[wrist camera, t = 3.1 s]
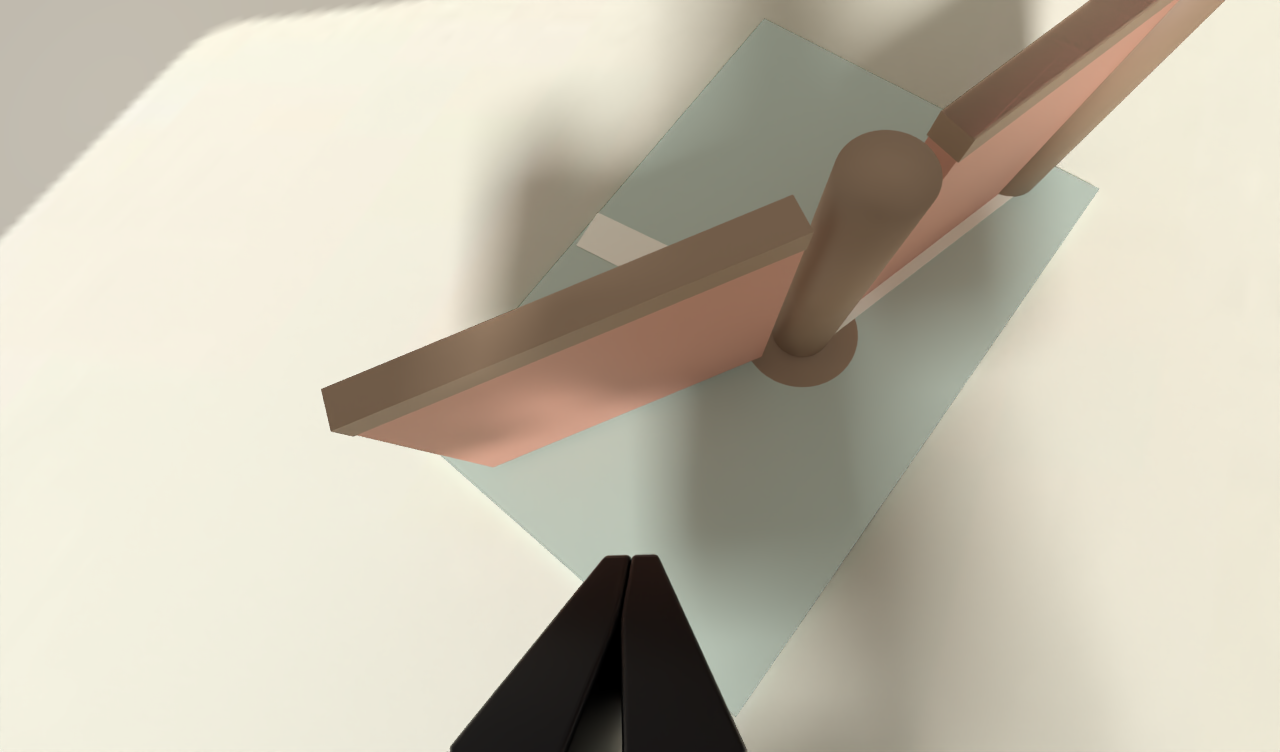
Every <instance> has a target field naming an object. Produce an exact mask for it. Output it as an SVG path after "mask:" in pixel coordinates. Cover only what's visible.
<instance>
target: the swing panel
mask: <svg viewBox="0 0 1280 752" xmlns="http://www.w3.org/2000/svg"><path fill="white" fill-rule="evenodd" d="M942 180H943V175H942V168H941V165H940V162H939V160H938V158H937V156H936V155H935V153H934V152H933V151H932V149H931V148H930V147H929V146H928V145H927V144H925V143H924V142H923V141H921V140H920V139H918V138H916V137H914V136H912V135H910V134H907V133H904V132H900V131H895V130H877V131H871V132H868V133H865V134H862V135H860V136H858V137H856V138H854V139H853V140H851V141H850V142H849V143H847V144H846V145H845V146H844V147H843V149H842V150H841V151H840V153H839V154H838V156H837V158H836V160H835V163H834V166H833V168H832V171H831V173H830V176H829V178H828V181H827V184H826V186H825V189H824V191H823V194H822V196H821V199H820V202H819V204H818V207H817V209H816V212H815V215H814V217H813V220H812V222H811V225H810V224H809V222H808V220H807V218H806V217H805V215H804V213H803V211H802V209H801V208H800V206H799V204H798V202H797V200H796V199H795V197H794V195H790V196H788V197H785V198H783V199H781V200H778V201H776V202H773V203H771V204H768V205H766V206H764V207H761V208H759V209H756V210H754V211H751V212H749V213H747V214H744V215H742V216H739V217H737V218H734V219H732V220H730V221H727V222H725V223H722V224H720V225H718V226H715V227H713V228H710V229H708V230H705V231H703V232H701V233H698V234H696V235H693V236H691V237H688V238H686V239H684V240H681V241H679V242H676V243H674V244H672V245H669V246H667V247H664V248H662V249H659V250H657V251H655V252H652V253H650V254H647V255H645V256H642V257H640V258H638V259H635V260H633V261H630V262H628V263H625V264H623V265H621V266H618V267H616V268H613V269H611V270H609V271H606V272H604V273H601V274H599V275H596V276H594V277H592V278H589V279H587V280H584V281H582V282H579V283H577V284H575V285H572V286H570V287H567V288H565V289H563V290H560V291H558V292H555V293H553V294H550V295H548V296H546V297H543V298H541V299H538V300H536V301H533V302H531V303H529V304H526V305H524V306H521V307H519V308H516V309H514V310H512V311H509V312H507V313H504V314H502V315H500V316H497V317H495V318H492V319H490V320H487V321H485V322H483V323H480V324H478V325H475V326H473V327H470V328H468V329H466V330H463V331H461V332H458V333H456V334H454V335H451V336H449V337H446V338H444V339H441V340H439V341H437V342H434V343H432V344H429V345H427V346H424V347H422V348H420V349H417V350H415V351H412V352H410V353H407V354H405V355H403V356H400V357H398V358H395V359H393V360H391V361H388V362H386V363H383V364H381V365H378V366H376V367H374V368H371V369H369V370H366V371H364V372H361V373H359V374H357V375H354V376H352V377H349V378H347V379H345V380H342V381H340V382H337V383H335V384H332V385H330V386H328V387H325V388H323V389H321V391H322V395H323V400H324V404H325V408H326V413H327V417H328V421H329V426H330V430H331V432H336V433H340V434H345V435H349V436H356V435H358V436H362V437H366V438H371V439H375V440H379V441H383V442H388V443H392V444H396V445H400V446H405V447H409V448H413V449H417V450H421V451H426V452H430V453H434V454H438V455H443V456H447V457H451V458H455V459H460V460H464V461H468V462H472V463H477V464H481V465H485V466H489V467H496V466H498V465H500V464H503V463H505V462H508V461H510V460H513V459H515V458H517V457H520V456H522V455H525V454H527V453H529V452H532V451H534V450H537V449H539V448H542V447H544V446H546V445H549V444H551V443H554V442H556V441H559V440H561V439H563V438H566V437H568V436H571V435H573V434H576V433H578V432H580V431H583V430H585V429H588V428H590V427H592V426H595V425H597V424H600V423H602V422H605V421H607V420H609V419H612V418H614V417H617V416H619V415H622V414H624V413H626V412H629V411H631V410H634V409H636V408H638V407H641V406H643V405H646V404H648V403H651V402H653V401H655V400H658V399H660V398H663V397H665V396H668V395H670V394H672V393H675V392H677V391H680V390H682V389H685V388H687V387H689V386H692V385H694V384H697V383H699V382H701V381H704V380H706V379H709V378H711V377H714V376H716V375H718V374H721V373H723V372H726V371H728V370H731V369H733V368H735V367H738V366H740V365H743V364H745V363H747V362H750V361H752V360H755V359H757V358H760V357H762V355H763V352H764V350H765V347H766V345H767V342H768V340H769V337H770V335H771V332H772V335H773V338H774V340H775V342H776V344H777V345H778V346H779V347H780V348H781V349H782V350H783V351H784V352H786V353H788V354H790V355H793V356H797V357H808V356H812V355H815V354H817V353H818V352H820V351H821V350H822V349H823V348H824V347H825V346H826V345H827V343H828V342H829V341H830V339H831V338H832V337H833V335H834V334H835V333H836V331H837V330H838V329H839V327H840V326H841V325H842V323H843V322H844V321H845V319H846V318H847V317H848V316H849V314H850V313H851V312H852V310H853V309H854V308H855V306H856V305H857V304H858V302H859V301H860V300H861V298H862V297H863V296H864V294H865V293H866V292H867V290H868V289H869V288H870V286H871V285H872V284H873V282H874V281H875V280H876V278H877V277H878V276H879V274H880V273H881V272H882V270H883V269H884V268H885V266H886V265H887V264H888V262H889V261H890V260H891V258H892V257H893V256H894V254H895V253H896V252H897V251H898V249H899V248H900V247H901V245H902V244H903V243H904V241H905V240H906V239H907V237H908V236H909V235H910V233H911V232H912V231H913V229H914V228H915V227H916V225H917V224H918V223H919V221H920V220H921V219H922V217H923V216H924V215H925V213H926V212H927V211H928V209H929V208H930V207H931V205H932V204H933V203H934V201H935V200H936V198H937V197H938V195H939V193H940V190H941V187H942Z"/></svg>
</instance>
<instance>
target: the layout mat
mask: <svg viewBox="0 0 1280 752" xmlns="http://www.w3.org/2000/svg"><path fill="white" fill-rule="evenodd" d="M942 110H943V109H941V108H939V107H938V106H936V105H934V104H932V103H930V102H928V101H926V100H924V99H922V98H920V97H918V96H916V95H914V94H912V93H910V92H908V91H906V90H904V89H902V88H900V87H898V86H896V85H894V84H892V83H890V82H888V81H886V80H884V79H883V78H881V77H879V76H877V75H875V74H873V73H871V72H869V71H867V70H865V69H863V68H861V67H859V66H857V65H855V64H853V63H851V62H849V61H847V60H845V59H843V58H841V57H839V56H837V55H835V54H833V53H831V52H829V51H827V50H826V49H824V48H822V47H820V46H818V45H816V44H814V43H812V42H810V41H808V40H806V39H804V38H802V37H800V36H798V35H796V34H794V33H792V32H790V31H788V30H786V29H784V28H782V27H780V26H778V25H776V24H774V23H772V22H771V21H769V20H767V19H765V18H764V19H763V21H762V22H761V23H760V24H759V25H758V27H757V28H756V29H755V30H754V31H753V32H752V34H751V35H750V36H749V37H748V38H747V39H746V41H745V42H744V43H743V44H742V45H741V46H740V48H739V49H738V50H737V51H736V52H735V53H734V55H733V56H732V57H731V58H730V59H729V60H728V62H727V63H726V64H725V65H724V66H723V68H722V69H721V70H720V71H719V72H718V73H717V75H716V76H715V77H714V78H713V79H712V80H711V82H710V83H709V84H708V85H707V86H706V87H705V89H704V90H703V91H702V92H701V93H700V94H699V96H698V97H697V98H696V99H695V100H694V101H693V103H692V104H691V105H690V106H689V107H688V109H687V110H686V111H685V112H684V113H683V114H682V116H681V117H680V118H679V119H678V120H677V121H676V123H675V124H674V125H673V126H672V127H671V128H670V130H669V131H668V132H667V133H666V134H665V135H664V137H663V138H662V139H661V140H660V141H659V142H658V144H657V145H656V146H655V147H654V148H653V149H652V151H651V152H650V153H649V154H648V155H647V157H646V158H645V159H644V160H643V161H642V162H641V164H640V165H639V166H638V167H637V168H636V169H635V171H634V172H633V173H632V174H631V175H630V176H629V178H628V179H627V180H626V181H625V182H624V183H623V185H622V186H621V187H620V188H619V189H618V190H617V192H616V193H615V194H614V195H613V196H612V198H611V199H610V200H609V201H608V202H607V203H606V205H605V206H604V207H603V208H602V209H601V210H600V212H599V213H598V212H597V214H596V215H595V217H594V219H593V220H592V221H591V222H590V223H589V224H588V226H587V227H586V228H585V229H584V230H583V231H582V233H581V234H580V235H579V236H578V237H577V239H576V240H575V241H574V242H573V243H572V244H571V246H570V247H569V248H568V249H567V250H566V251H565V253H564V254H563V255H562V256H561V257H560V258H559V260H558V261H557V262H556V263H555V264H554V265H553V267H552V268H551V269H550V270H549V271H548V272H547V274H546V275H545V276H544V277H543V278H542V280H541V281H540V282H539V283H538V284H537V285H536V287H535V288H534V289H533V290H532V291H531V292H530V294H529V295H528V296H527V297H526V298H525V299H524V301H523V302H522V303H521V304H520V305H519V306H518V308H519V307H521V306H524V305H526V304H529V303H531V302H533V301H536V300H538V299H541V298H543V297H546V296H548V295H550V294H553V293H555V292H558V291H560V290H563V289H565V288H567V287H570V286H572V285H575V284H577V283H579V282H582V281H584V280H587V279H589V278H592V277H594V276H596V275H599V274H601V273H604V272H606V271H609V270H611V269H613V268H616V267H618V266H621V265H623V264H625V263H628V262H630V261H633V260H635V259H638V258H640V257H642V256H645V255H647V254H650V253H652V252H655V251H657V250H659V249H662V248H664V247H667V246H669V245H672V244H674V243H676V242H679V241H681V240H684V239H686V238H688V237H691V236H693V235H696V234H698V233H701V232H703V231H705V230H708V229H710V228H713V227H715V226H718V225H720V224H722V223H725V222H727V221H730V220H732V219H734V218H737V217H739V216H742V215H744V214H747V213H749V212H751V211H754V210H756V209H759V208H761V207H764V206H766V205H768V204H771V203H773V202H776V201H778V200H781V199H783V198H785V197H788V196H790V195H794V197H795V199H796V200H797V202H798V204H799V206H800V208H801V209H802V211H803V213H804V215H805V217H806V218H807V220H808V222H809V224H810V225H811V222H812V220H813V217H814V215H815V212H816V209H817V207H818V204H819V202H820V199H821V196H822V194H823V191H824V189H825V186H826V184H827V181H828V178H829V176H830V173H831V171H832V168H833V166H834V163H835V160H836V158H837V156H838V154H839V153H840V151H841V150H842V149H843V147H844V146H845V145H846V144H847V143H849V142H850V141H851V140H853V139H854V138H856V137H858V136H860V135H862V134H865V133H868V132H871V131H877V130H895V131H900V132H904V133H907V134H910V135H912V136H914V137H916V138H918V139H920V140H921V141H923V142H924V143H925V141H926V139H927V138H928V136H927V133H928V132H929V130H930V128H931V127H932V125H933V123H934V122H935V120H936V118H937V117H938V115H939V113H940V112H941V111H942ZM1098 190H1099V188H1097V187H1095V186H1093V185H1091V184H1089V183H1087V182H1085V181H1083V180H1081V179H1079V178H1077V177H1075V176H1073V175H1071V174H1069V173H1067V172H1065V171H1063V170H1061V169H1059V168H1057V167H1054V168H1053V169H1052V170H1051V171H1050V172H1049V173H1048V174H1047V175H1046V176H1045V177H1044V178H1043V179H1042V180H1041V181H1040V182H1039V183H1038V184H1037V185H1036V186H1035V187H1034V188H1033V189H1031V190H1030V191H1029V192H1028V193H1026V194H1024V195H1021V196H1017V197H1013V196H1004V195H1000V194H998V195H997V196H995V197H994V198H993V199H991V200H990V201H989V202H987V203H986V204H985V205H984V206H982V207H981V208H980V209H978V210H977V211H976V212H974V213H973V214H972V215H971V216H969V217H968V218H967V219H965V220H964V221H963V222H961V223H960V224H959V225H957V226H956V227H955V228H954V229H952V230H951V231H950V232H948V233H947V234H946V235H944V236H943V237H942V238H940V239H939V240H938V241H937V242H935V243H934V244H933V245H931V246H930V247H929V248H927V249H926V250H925V251H924V252H922V253H921V254H920V255H918V256H917V257H916V258H914V259H913V260H912V261H910V262H909V263H908V264H907V265H905V266H904V267H903V268H901V269H900V270H899V271H897V272H896V273H895V274H893V275H892V276H891V277H890V278H888V279H887V280H886V281H884V282H883V283H882V284H880V285H879V286H878V287H877V288H875V289H874V290H873V291H871V292H870V293H869V294H867V295H866V296H865V297H863V298H862V299H861V300H860V301H859V302H858V304H857V305H856V306H855V308H854V309H853V310H852V312H851V313H850V314H849V316H848V317H847V318H846V319H845V321H844V322H843V323H842V325H841V326H840V327H839V329H838V330H837V331H836V332H838V331H839V330H840V329H842V328H843V327H844V326H846V325H847V324H848V323H849V322H851V321H852V320H853V319H855V321H856V324H857V330H858V342H857V346H856V351H855V354H854V356H853V358H852V360H851V362H850V363H849V365H848V366H847V367H846V368H845V370H844V371H843V372H841V373H840V374H839V375H838V376H836V377H835V378H834V379H832V380H830V381H828V382H826V383H823V384H820V385H817V386H812V387H809V386H808V387H793V386H788V385H784V384H781V383H778V382H776V381H774V380H772V379H770V378H769V377H767V376H766V375H764V374H763V373H762V372H761V371H760V370H759V369H760V368H759V369H758V367H756V366H755V365H754V364H755V363H754V364H753V362H752V361H750V362H747V363H745V364H743V365H740V366H738V367H735V368H733V369H731V370H728V371H726V372H723V373H721V374H718V375H716V376H714V377H711V378H709V379H706V380H704V381H701V382H699V383H697V384H694V385H692V386H689V387H687V388H685V389H682V390H680V391H677V392H675V393H672V394H670V395H668V396H665V397H663V398H660V399H658V400H655V401H653V402H651V403H648V404H646V405H643V406H641V407H638V408H636V409H634V410H631V411H629V412H626V413H624V414H622V415H619V416H617V417H614V418H612V419H609V420H607V421H605V422H602V423H600V424H597V425H595V426H592V427H590V428H588V429H585V430H583V431H580V432H578V433H576V434H573V435H571V436H568V437H566V438H563V439H561V440H559V441H556V442H554V443H551V444H549V445H546V446H544V447H542V448H539V449H537V450H534V451H532V452H529V453H527V454H525V455H522V456H520V457H517V458H515V459H513V460H510V461H508V462H505V463H503V464H500V465H498V466H496V467H489V466H485V465H481V464H477V463H472V462H468V461H464V460H460V459H455V458H451V457H447V456H443V455H441V456H442V457H443V458H444V459H445V460H446V461H447V462H449V463H450V464H451V465H452V466H453V467H454V468H455V469H457V470H458V471H459V472H460V473H461V474H462V475H463V476H464V477H466V478H467V479H468V480H469V481H470V482H471V483H472V484H473V485H475V486H476V487H477V488H478V489H479V490H480V491H481V492H482V493H484V494H485V495H486V496H487V497H488V498H489V499H490V500H492V501H493V502H494V503H495V504H496V505H497V506H498V507H499V508H501V509H502V510H503V511H504V512H505V513H506V514H507V515H508V516H510V517H511V518H512V519H513V520H514V521H515V522H516V523H518V524H519V525H520V526H521V527H522V528H523V529H524V530H525V531H527V532H528V533H529V534H530V535H531V536H532V537H533V538H534V539H536V540H537V541H538V542H539V543H540V544H541V545H542V546H543V547H545V548H546V549H547V550H548V551H549V552H550V553H551V554H553V555H554V556H555V557H556V558H557V559H558V560H559V561H560V562H562V563H563V564H564V565H565V566H566V567H567V568H568V569H569V570H571V571H572V572H573V573H574V574H575V575H576V576H577V577H578V578H580V579H581V580H582V581H583V582H584V581H585V580H586V579H587V577H588V576H589V575H590V574H591V572H592V571H593V570H594V569H595V567H596V566H597V565H598V564H599V563H600V561H601V560H602V559H603V558H604V557H605V556H608V555H629V556H630V557H631V559H632V557H633V556H634V555H638V554H655V555H658V557H659V558H660V560H661V562H662V565H663V567H664V569H665V571H666V573H667V575H668V578H669V580H670V582H671V584H672V586H673V589H674V591H675V593H676V595H677V597H678V600H679V602H680V604H681V606H682V608H683V611H684V613H685V615H686V617H687V619H688V622H689V624H690V626H691V628H692V630H693V632H694V635H695V637H696V639H697V641H698V643H699V646H700V648H701V650H702V652H703V654H704V657H705V659H706V661H707V663H708V665H709V668H710V670H711V672H712V674H713V676H714V679H715V681H716V683H717V685H718V687H719V689H720V692H721V694H722V696H723V698H724V700H725V703H726V705H727V707H728V709H729V711H730V712H731V713H732V714H733V715H734V716H735V717H736V716H737V715H738V713H739V712H740V710H741V709H742V707H743V706H744V704H745V703H746V702H747V700H748V699H749V697H750V696H751V694H752V693H753V691H754V690H755V688H756V687H757V686H758V684H759V683H760V681H761V680H762V678H763V677H764V675H765V674H766V672H767V671H768V670H769V668H770V667H771V665H772V664H773V662H774V661H775V659H776V658H777V656H778V655H779V654H780V652H781V651H782V649H783V648H784V646H785V645H786V643H787V642H788V640H789V639H790V638H791V636H792V635H793V633H794V632H795V630H796V629H797V627H798V626H799V625H800V623H801V622H802V620H803V619H804V617H805V616H806V614H807V613H808V611H809V610H810V609H811V607H812V606H813V604H814V603H815V601H816V600H817V598H818V597H819V595H820V594H821V593H822V591H823V590H824V588H825V587H826V585H827V584H828V582H829V581H830V579H831V578H832V577H833V575H834V574H835V572H836V571H837V569H838V568H839V566H840V565H841V563H842V562H843V561H844V559H845V558H846V556H847V555H848V553H849V552H850V550H851V549H852V548H853V546H854V545H855V543H856V542H857V540H858V539H859V537H860V536H861V534H862V533H863V532H864V530H865V529H866V527H867V526H868V524H869V523H870V521H871V520H872V518H873V517H874V516H875V514H876V513H877V511H878V510H879V508H880V507H881V505H882V504H883V502H884V501H885V500H886V498H887V497H888V495H889V494H890V492H891V491H892V489H893V488H894V486H895V485H896V484H897V482H898V481H899V479H900V478H901V476H902V475H903V473H904V472H905V471H906V469H907V468H908V466H909V465H910V463H911V462H912V460H913V459H914V457H915V456H916V455H917V453H918V452H919V450H920V449H921V447H922V446H923V444H924V443H925V441H926V440H927V439H928V437H929V436H930V434H931V433H932V431H933V430H934V428H935V427H936V425H937V424H938V423H939V421H940V420H941V418H942V417H943V415H944V414H945V412H946V411H947V410H948V408H949V407H950V405H951V404H952V402H953V401H954V399H955V398H956V396H957V395H958V394H959V392H960V391H961V389H962V388H963V386H964V385H965V383H966V382H967V380H968V379H969V378H970V376H971V375H972V373H973V372H974V370H975V369H976V367H977V366H978V364H979V363H980V362H981V360H982V359H983V357H984V356H985V354H986V353H987V351H988V350H989V348H990V347H991V346H992V344H993V343H994V341H995V340H996V338H997V337H998V335H999V334H1000V333H1001V331H1002V330H1003V328H1004V327H1005V325H1006V324H1007V322H1008V321H1009V319H1010V318H1011V317H1012V315H1013V314H1014V312H1015V311H1016V309H1017V308H1018V306H1019V305H1020V303H1021V302H1022V301H1023V299H1024V298H1025V296H1026V295H1027V293H1028V292H1029V290H1030V289H1031V287H1032V286H1033V285H1034V283H1035V282H1036V280H1037V279H1038V277H1039V276H1040V274H1041V273H1042V271H1043V270H1044V269H1045V267H1046V266H1047V264H1048V263H1049V261H1050V260H1051V258H1052V257H1053V256H1054V254H1055V253H1056V251H1057V250H1058V248H1059V247H1060V245H1061V244H1062V242H1063V241H1064V240H1065V238H1066V237H1067V235H1068V234H1069V232H1070V231H1071V229H1072V228H1073V226H1074V225H1075V224H1076V222H1077V221H1078V219H1079V218H1080V216H1081V215H1082V213H1083V212H1084V210H1085V209H1086V208H1087V206H1088V205H1089V203H1090V202H1091V200H1092V199H1093V197H1094V196H1095V194H1096V193H1097V192H1098ZM848 332H850V331H848ZM844 335H845V334H844ZM836 340H837V339H836ZM846 342H847V341H846ZM843 343H844V342H843ZM770 347H771V346H770ZM841 348H842V347H841ZM768 349H769V348H768ZM822 350H823V349H822ZM824 351H825V350H824ZM848 351H849V350H848ZM766 352H767V351H766ZM779 352H780V351H779ZM821 353H823V352H821ZM828 353H829V352H828ZM846 353H847V352H846ZM782 354H783V353H782ZM841 354H842V353H841ZM831 355H833V354H831ZM780 356H781V355H780ZM851 356H852V355H851ZM788 357H789V356H788ZM812 357H813V356H812ZM826 357H827V356H826ZM785 358H786V357H785ZM790 358H791V357H790ZM832 358H833V357H832ZM762 359H763V358H762ZM845 359H846V358H845ZM788 360H789V359H788ZM827 360H828V359H827ZM837 360H838V359H837ZM847 360H848V359H847ZM775 361H776V360H775ZM786 361H787V360H786ZM790 361H792V360H790ZM832 361H833V360H832ZM758 362H759V361H758ZM835 362H836V361H835ZM801 363H802V362H801ZM767 364H768V363H767ZM761 365H762V364H761ZM797 365H798V364H797ZM810 367H811V366H810ZM800 368H801V367H800ZM773 369H774V368H773ZM775 370H776V369H775ZM834 370H835V369H834ZM808 372H809V371H808ZM831 372H832V371H831ZM770 373H771V372H770ZM827 373H828V372H827ZM799 376H800V375H799ZM794 382H795V381H794Z"/></svg>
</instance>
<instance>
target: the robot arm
mask: <svg viewBox="0 0 1280 752" xmlns="http://www.w3.org/2000/svg"><path fill="white" fill-rule="evenodd" d="M450 752H747V749H746V746H745V744H744V742H743V740H742V738H741V736H740V733H739V731H738V729H737V727H736V725H735V722H734V720H733V718H732V716H731V714H730V711H729V709H728V707H727V705H726V703H725V700H724V698H723V696H722V694H721V692H720V689H719V687H718V685H717V683H716V681H715V679H714V676H713V674H712V672H711V670H710V668H709V665H708V663H707V661H706V659H705V657H704V654H703V652H702V650H701V648H700V646H699V643H698V641H697V639H696V637H695V635H694V632H693V630H692V628H691V626H690V624H689V622H688V619H687V617H686V615H685V613H684V611H683V608H682V606H681V604H680V602H679V600H678V597H677V595H676V593H675V591H674V589H673V586H672V584H671V582H670V580H669V578H668V575H667V573H666V571H665V569H664V567H663V565H662V562H661V560H660V558H659V557H658V555H655V554H638V555H634V556H633V557H632V559H631V557H630V556H629V555H608V556H605V557H604V558H603V559H602V560H601V561H600V563H599V564H598V565H597V566H596V567H595V569H594V570H593V571H592V572H591V574H590V575H589V576H588V577H587V579H586V580H585V581H584V582H583V583H582V585H581V586H580V587H579V588H578V590H577V591H576V592H575V593H574V595H573V596H572V597H571V598H570V600H569V601H568V602H567V603H566V604H565V606H564V607H563V608H562V609H561V611H560V612H559V613H558V614H557V616H556V617H555V618H554V619H553V620H552V622H551V623H550V624H549V625H548V627H547V628H546V629H545V630H544V632H543V633H542V634H541V635H540V637H539V638H538V639H537V640H536V641H535V643H534V644H533V645H532V646H531V648H530V649H529V650H528V651H527V653H526V654H525V655H524V656H523V657H522V659H521V660H520V661H519V662H518V664H517V665H516V666H515V667H514V669H513V670H512V671H511V672H510V673H509V675H508V676H507V677H506V678H505V680H504V681H503V682H502V683H501V685H500V686H499V687H498V688H497V690H496V691H495V692H494V693H493V694H492V696H491V697H490V698H489V699H488V701H487V702H486V703H485V704H484V706H483V707H482V708H481V709H480V710H479V712H478V713H477V714H476V715H475V717H474V718H473V719H472V720H471V722H470V723H469V724H468V725H467V727H466V728H465V729H464V730H463V731H462V733H461V734H460V735H459V736H458V738H457V739H456V740H455V741H454V743H453V744H452V745H451V747H450Z"/></svg>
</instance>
